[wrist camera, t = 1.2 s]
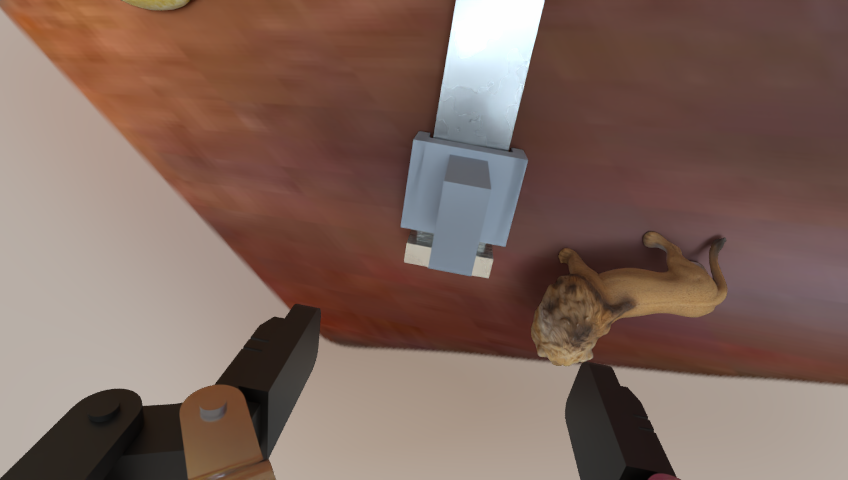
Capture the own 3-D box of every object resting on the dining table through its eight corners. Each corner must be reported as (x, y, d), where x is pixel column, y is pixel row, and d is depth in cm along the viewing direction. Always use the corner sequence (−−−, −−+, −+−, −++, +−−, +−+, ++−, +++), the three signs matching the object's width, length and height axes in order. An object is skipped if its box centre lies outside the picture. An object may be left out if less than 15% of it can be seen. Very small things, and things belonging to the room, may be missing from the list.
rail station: (639, -283, 21) (724, -452, 14) (499, 255, 34) (506, 313, 27) (478, -307, 22) (481, -485, 14) (398, 236, 34) (378, 288, 27)
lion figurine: (531, 315, 36) (548, 395, 28) (511, 260, 34) (524, 328, 26) (726, 264, 32) (811, 338, 24) (716, 200, 30) (805, 256, 22)
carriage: (523, 149, 30) (541, 188, 21) (502, 229, 32) (512, 292, 24) (419, 131, 30) (398, 162, 22) (406, 211, 32) (383, 267, 24)
